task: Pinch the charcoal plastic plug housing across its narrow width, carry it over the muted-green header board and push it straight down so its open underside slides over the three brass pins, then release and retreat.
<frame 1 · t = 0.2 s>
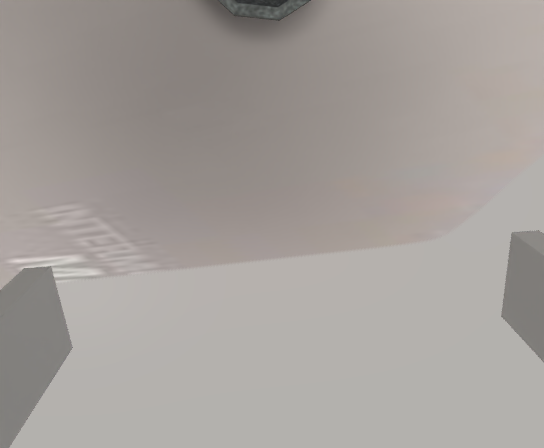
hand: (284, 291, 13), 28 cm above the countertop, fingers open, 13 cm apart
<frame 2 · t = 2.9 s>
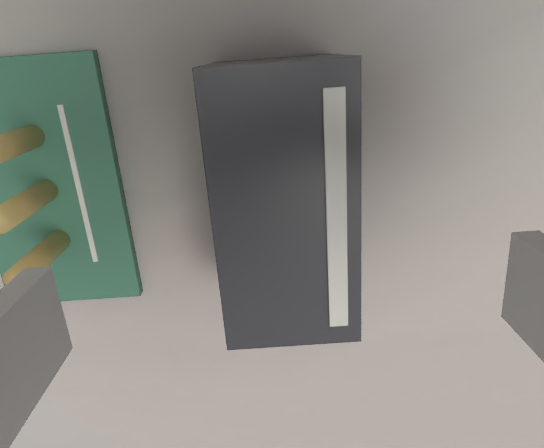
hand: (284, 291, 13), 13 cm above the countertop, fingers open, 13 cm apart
plug housing: (280, 170, 26), on the countertop
header board: (51, 187, 26), on the countertop
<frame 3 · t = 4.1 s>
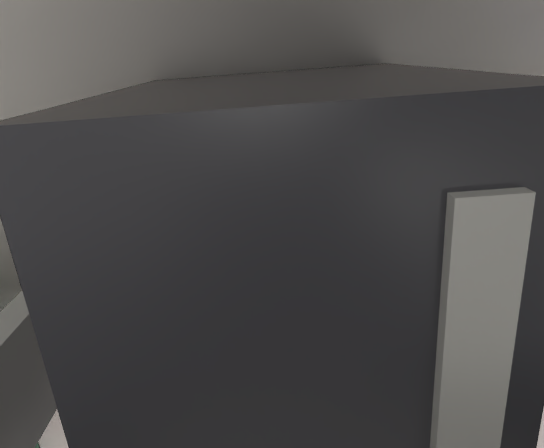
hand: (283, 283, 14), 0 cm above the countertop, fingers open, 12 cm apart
plug housing: (284, 278, 14), on the countertop
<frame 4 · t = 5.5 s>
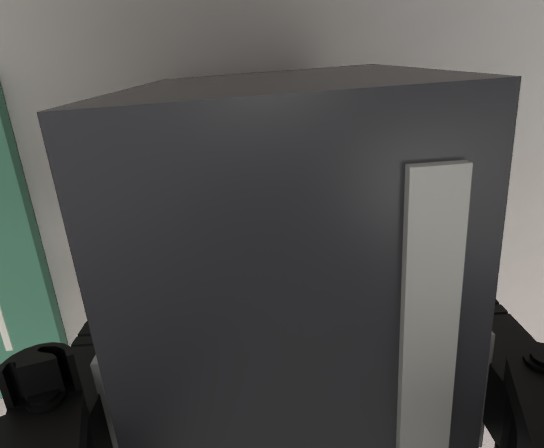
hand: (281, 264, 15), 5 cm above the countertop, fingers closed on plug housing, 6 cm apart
plug housing: (281, 260, 15), point 4 cm above the countertop, touching gripper
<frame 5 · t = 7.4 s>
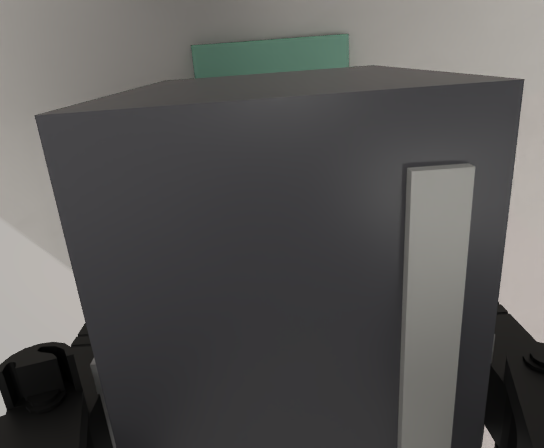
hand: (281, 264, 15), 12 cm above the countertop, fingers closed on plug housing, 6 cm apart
plug housing: (281, 262, 15), point 12 cm above the countertop, touching gripper
header board: (278, 171, 26), on the countertop
when the fingers open (2 cm above the countertop, at t = 9.3 s): plug housing drops 1 cm, resting on header board.
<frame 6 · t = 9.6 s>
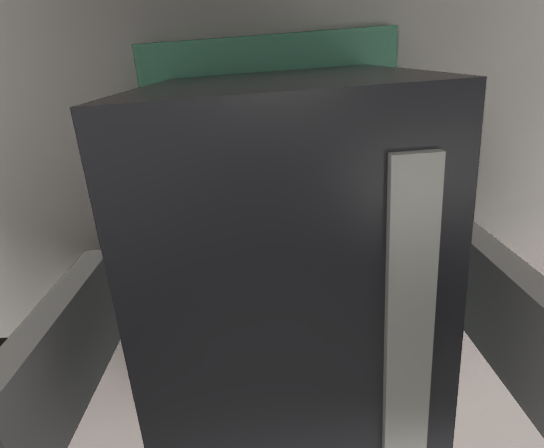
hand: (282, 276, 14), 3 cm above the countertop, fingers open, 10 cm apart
plug housing: (280, 249, 16), point 1 cm above the countertop, touching header board
header board: (279, 241, 17), on the countertop
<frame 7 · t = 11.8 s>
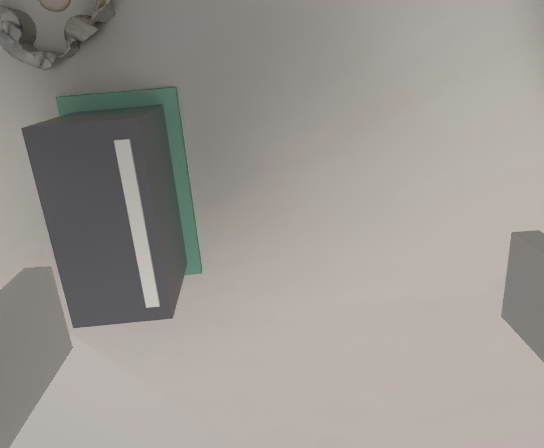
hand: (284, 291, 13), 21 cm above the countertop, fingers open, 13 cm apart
plug housing: (134, 192, 33), point 1 cm above the countertop, touching header board
header board: (136, 189, 34), on the countertop
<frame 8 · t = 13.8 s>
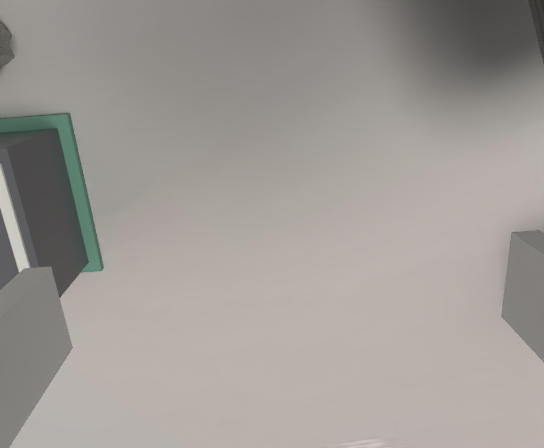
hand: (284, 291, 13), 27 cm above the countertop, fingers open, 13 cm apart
plug housing: (39, 201, 39), point 1 cm above the countertop, touching header board
header board: (41, 198, 40), on the countertop
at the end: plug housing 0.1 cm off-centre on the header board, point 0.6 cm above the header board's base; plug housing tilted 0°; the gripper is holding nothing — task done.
